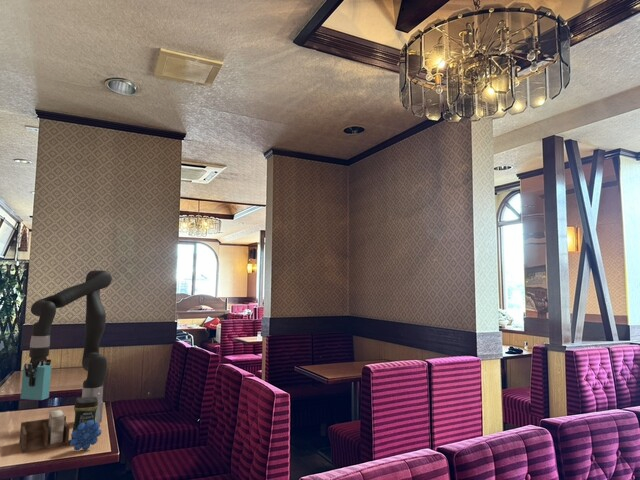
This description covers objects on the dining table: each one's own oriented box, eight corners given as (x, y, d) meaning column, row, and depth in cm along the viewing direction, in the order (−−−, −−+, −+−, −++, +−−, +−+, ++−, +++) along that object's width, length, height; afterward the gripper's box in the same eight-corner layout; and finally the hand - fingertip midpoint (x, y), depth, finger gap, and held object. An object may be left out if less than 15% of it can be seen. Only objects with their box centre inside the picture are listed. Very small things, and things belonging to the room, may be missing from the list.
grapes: (99, 444, 193) (101, 415, 194) (100, 449, 187) (102, 420, 188) (68, 448, 187) (71, 419, 188) (69, 454, 181) (71, 423, 182)
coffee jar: (71, 445, 191) (74, 400, 193) (70, 439, 198) (74, 396, 200) (96, 441, 196) (99, 398, 198) (95, 436, 203) (98, 394, 205)
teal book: (27, 396, 200) (31, 364, 201) (48, 397, 199) (51, 365, 200) (20, 398, 196) (23, 366, 197) (41, 400, 194) (44, 367, 196)
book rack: (64, 435, 202) (66, 408, 204) (69, 444, 191) (71, 416, 192) (19, 442, 192) (21, 414, 193) (21, 453, 181) (24, 422, 182)
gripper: (35, 348, 192) (31, 389, 190) (58, 344, 206) (55, 382, 204) (19, 347, 193) (15, 388, 191) (43, 343, 207) (39, 381, 205)
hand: (36, 384), depth 198 cm, fingers closed on teal book, 4 cm apart
